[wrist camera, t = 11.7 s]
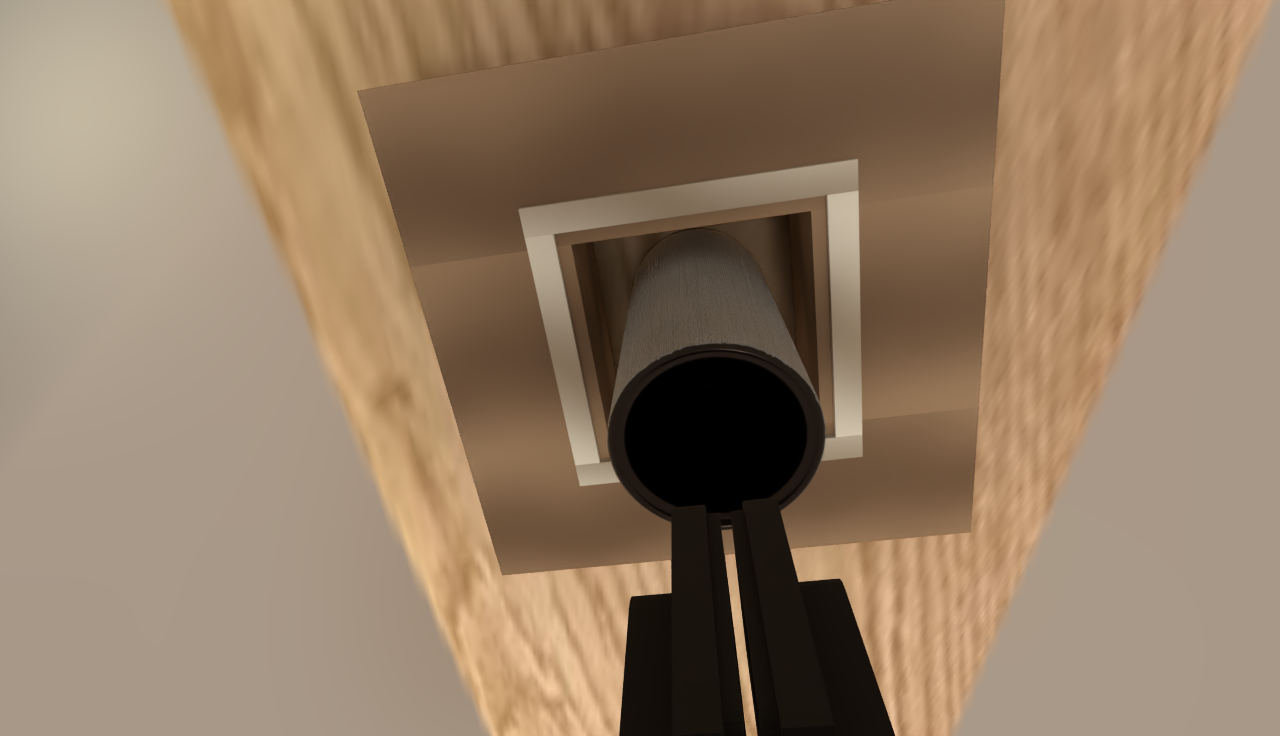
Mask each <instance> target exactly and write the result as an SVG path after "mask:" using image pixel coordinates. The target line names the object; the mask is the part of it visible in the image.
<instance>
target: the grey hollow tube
mask: <svg viewBox="0 0 1280 736" xmlns="http://www.w3.org/2000/svg"><path fill="white" fill-rule="evenodd" d="M825 441H826V427H825V419H824V414H823V411H822V407H821V405H820V402H819V399H818V397H817V395H816V392H815V390H814V388H813V385H812V383H811V381H810V379H809V376H808V374H807V372H806V370H805V367H804V365H803V363H802V361H801V358H800V356H799V354H798V352H797V349H796V347H795V345H794V343H793V340H792V338H791V336H790V334H789V332H788V329H787V327H786V325H785V323H784V320H783V318H782V316H781V314H780V311H779V309H778V307H777V305H776V302H775V300H774V298H773V296H772V293H771V291H770V289H769V287H768V284H767V282H766V280H765V278H764V275H763V273H762V271H761V269H760V267H759V265H758V263H757V262H756V260H755V258H754V257H753V256H752V254H751V253H750V252H749V251H748V250H747V248H746V247H745V246H744V245H742V244H741V243H740V242H739V241H737V240H736V239H734V238H733V237H731V236H729V235H727V234H724V233H722V232H719V231H715V230H709V229H690V230H684V231H681V232H677V233H675V234H672V235H670V236H668V237H666V238H665V239H663V240H661V241H660V242H659V243H657V244H656V245H655V246H654V247H653V248H652V249H651V250H650V251H649V252H648V253H647V255H646V256H645V257H644V259H643V260H642V262H641V264H640V266H639V268H638V270H637V273H636V276H635V279H634V282H633V287H632V293H631V298H630V304H629V309H628V315H627V320H626V326H625V331H624V337H623V343H622V348H621V354H620V359H619V365H618V370H617V376H616V381H615V387H614V392H613V398H612V403H611V409H610V415H609V421H608V429H607V447H608V453H609V458H610V461H611V464H612V467H613V470H614V472H615V474H616V476H617V478H618V480H619V481H620V483H621V484H622V486H623V487H624V489H625V490H626V491H627V493H628V494H629V495H630V496H631V497H632V498H633V499H634V500H635V501H636V502H637V503H638V504H639V505H641V506H642V507H643V508H645V509H646V510H647V511H649V512H650V513H652V514H653V515H655V516H657V517H659V518H661V519H663V520H665V521H667V522H670V523H671V509H672V508H676V507H686V506H696V505H705V507H706V514H709V513H719V514H720V521H721V530H722V531H723V530H732V523H731V514H730V511H740V510H743V501H747V500H757V499H767V498H777V500H778V504H779V507H780V511H782V510H784V509H785V508H787V507H788V506H789V505H790V504H792V503H793V502H794V501H795V500H796V499H797V498H798V497H799V496H800V495H801V494H802V493H803V492H804V490H805V489H806V488H807V487H808V485H809V484H810V482H811V481H812V479H813V478H814V476H815V474H816V472H817V470H818V468H819V466H820V463H821V460H822V457H823V453H824V448H825Z"/></svg>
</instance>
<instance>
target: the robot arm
mask: <svg viewBox="0 0 1280 736" xmlns="http://www.w3.org/2000/svg"><path fill="white" fill-rule="evenodd" d="M730 514H731V523H732V531H733V540H734V549H735V557H736V566H737V575H738V583H739V592H740V601H741V609H742V618H743V627H744V635H745V644H746V652H747V659H748V667H749V675H750V682H751V690H752V697H753V705H754V712H755V720H756V727H757V735H758V736H895V734H894V731H893V728H892V725H891V722H890V719H889V716H888V713H887V710H886V707H885V704H884V701H883V698H882V696H881V693H880V690H879V687H878V684H877V681H876V678H875V675H874V672H873V669H872V666H871V663H870V660H869V657H868V655H867V652H866V649H865V646H864V643H863V640H862V637H861V634H860V631H859V628H858V625H857V622H856V619H855V616H854V613H853V611H852V608H851V605H850V602H849V599H848V596H847V593H846V590H845V588H844V585H843V583H842V581H841V580H840V579H829V580H818V581H806V582H798V578H797V575H796V571H795V567H794V563H793V559H792V555H791V551H790V547H789V543H788V539H787V535H786V531H785V527H784V523H783V519H782V515H781V511H780V507H779V504H778V500H777V498H767V499H757V500H747V501H743V510H740V511H730ZM671 569H672V593H668V594H656V595H645V596H633V597H631V600H630V605H629V616H628V629H627V642H626V655H625V668H624V681H623V694H622V707H621V720H620V733H619V736H746V729H745V721H744V712H743V703H742V695H741V686H740V677H739V669H738V660H737V651H736V643H735V635H734V627H733V619H732V611H731V603H730V594H729V586H728V578H727V570H726V562H725V554H724V546H723V538H722V530H721V521H720V514H719V513H709V514H706V507H705V505H696V506H686V507H676V508H672V509H671Z"/></svg>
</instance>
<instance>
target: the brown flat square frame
mask: <svg viewBox="0 0 1280 736" xmlns="http://www.w3.org/2000/svg"><path fill="white" fill-rule="evenodd" d="M1004 9H1005V0H891V1H885V2H879V3H873V4H867V5H861V6H856V7H850V8H844V9H838V10H832V11H826V12H820V13H814V14H808V15H802V16H796V17H791V18H785V19H779V20H773V21H767V22H761V23H755V24H749V25H743V26H737V27H732V28H726V29H720V30H714V31H708V32H702V33H696V34H690V35H684V36H678V37H673V38H667V39H661V40H655V41H649V42H643V43H637V44H631V45H625V46H619V47H614V48H608V49H602V50H596V51H590V52H584V53H578V54H572V55H566V56H560V57H555V58H549V59H543V60H537V61H531V62H525V63H519V64H513V65H507V66H501V67H495V68H490V69H484V70H478V71H472V72H466V73H460V74H454V75H448V76H442V77H436V78H431V79H425V80H419V81H413V82H407V83H401V84H395V85H389V86H383V87H377V88H372V89H366V90H360V91H357V92H358V95H359V98H360V102H361V105H362V108H363V112H364V115H365V118H366V122H367V125H368V128H369V132H370V135H371V138H372V142H373V145H374V148H375V152H376V155H377V158H378V162H379V165H380V168H381V172H382V175H383V179H384V182H385V185H386V189H387V192H388V195H389V199H390V202H391V205H392V209H393V212H394V215H395V219H396V222H397V225H398V229H399V232H400V235H401V239H402V242H403V245H404V249H405V252H406V255H407V259H408V262H409V265H410V269H411V272H412V275H413V279H414V282H415V285H416V289H417V292H418V296H419V299H420V302H421V306H422V309H423V312H424V316H425V319H426V322H427V326H428V329H429V332H430V336H431V339H432V342H433V346H434V349H435V352H436V356H437V359H438V362H439V366H440V369H441V372H442V376H443V379H444V382H445V386H446V389H447V392H448V396H449V399H450V402H451V406H452V409H453V413H454V416H455V419H456V423H457V426H458V429H459V433H460V436H461V439H462V443H463V446H464V449H465V453H466V456H467V459H468V463H469V466H470V469H471V473H472V476H473V479H474V483H475V486H476V489H477V493H478V496H479V499H480V503H481V506H482V509H483V513H484V516H485V519H486V523H487V526H488V530H489V533H490V536H491V540H492V543H493V546H494V550H495V553H496V556H497V560H498V563H499V566H500V570H501V573H502V575H511V574H522V573H533V572H544V571H554V570H565V569H576V568H587V567H598V566H609V565H620V564H631V563H641V562H652V561H663V560H671V523H670V522H667V521H665V520H663V519H661V518H659V517H657V516H655V515H653V514H652V513H650V512H649V511H647V510H646V509H645V508H643V507H642V506H641V505H639V504H638V503H637V502H636V501H635V500H634V499H633V498H632V497H631V496H630V495H629V494H628V493H627V491H626V490H625V489H624V487H623V486H622V484H621V483H620V481H619V480H618V478H617V476H616V474H615V472H614V470H613V467H612V464H611V461H610V458H609V453H608V447H607V429H608V421H609V415H610V409H611V403H612V398H613V392H614V387H615V381H616V371H615V366H614V360H613V355H612V349H611V344H610V338H609V333H608V327H607V322H606V316H605V311H604V305H603V300H602V294H601V289H600V283H599V277H598V272H597V266H596V261H595V255H594V250H593V244H592V242H594V241H601V240H608V239H616V238H623V237H630V236H637V235H644V234H651V233H658V232H665V231H672V230H679V229H687V228H694V227H701V226H708V225H715V224H722V223H729V222H736V221H743V220H750V219H758V218H765V217H772V216H779V215H786V214H789V229H790V246H791V263H792V280H793V297H794V314H795V331H796V348H797V352H798V354H799V356H800V358H801V361H802V363H803V365H804V367H805V370H806V372H807V374H808V376H809V379H810V381H811V383H812V385H813V388H814V390H815V392H816V395H817V397H818V399H819V402H820V405H821V407H822V411H823V414H824V419H825V427H826V441H825V448H824V453H823V457H822V460H821V463H820V466H819V468H818V470H817V472H816V474H815V476H814V478H813V479H812V481H811V482H810V484H809V485H808V487H807V488H806V489H805V490H804V492H803V493H802V494H801V495H800V496H799V497H798V498H797V499H796V500H795V501H794V502H793V503H792V504H790V505H789V506H788V507H787V508H785V509H784V510H782V511H781V515H782V519H783V523H784V527H785V531H786V535H787V539H788V543H789V547H790V549H794V548H804V547H815V546H826V545H837V544H848V543H859V542H870V541H881V540H891V539H902V538H913V537H924V536H935V535H946V534H957V533H967V532H971V520H972V504H973V489H974V473H975V458H976V442H977V427H978V411H979V396H980V380H981V365H982V349H983V334H984V319H985V303H986V288H987V272H988V257H989V241H990V226H991V210H992V195H993V179H994V164H995V148H996V133H997V118H998V102H999V87H1000V71H1001V56H1002V40H1003V25H1004ZM722 538H723V546H724V554H725V555H728V554H735V549H734V540H733V531H732V530H723V531H722Z"/></svg>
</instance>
